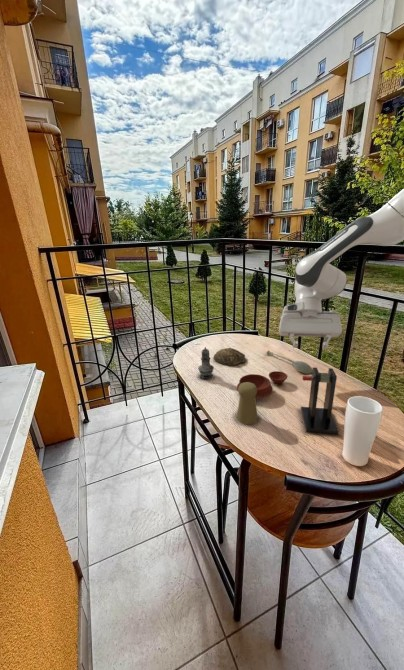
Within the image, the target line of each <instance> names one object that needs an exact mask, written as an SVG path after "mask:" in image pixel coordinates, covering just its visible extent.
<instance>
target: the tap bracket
mask: <svg viewBox="0 0 404 670" xmlns="http://www.w3.org/2000/svg"><path fill="white" fill-rule="evenodd" d="M319 373H320V372H319V370H318V367H312V372H311V375H310V376H311V379H312V381H310V390H309V398H308V399H309V400H308V406H300V412H301V413H300V414H301V417H302V421H303V425H304V430H305V433H311V434H322V435H331V436H332V435H333V436H334V435H335V436H338V435H339V429H338V426H337V424H336V421H335V419H334V416H333V414H332V413H333V407H334V398H335V391H336V384H337V380H338V378H337V375H336V372H335V370H334V368H331V367H329V368H328V371H327V373H329V379H330V382H329V383H326V386H325V393H324V401H323V407H317V404H318V403H317V402H318V396H319V386H320V382H319V380H320V374H319Z"/></svg>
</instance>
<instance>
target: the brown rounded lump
mask: <svg viewBox="0 0 404 670" xmlns="http://www.w3.org/2000/svg"><path fill="white" fill-rule="evenodd" d="M245 357H246V354H245V353H242V352H241V351H239V350H238V349H235V348H232V347H225V348H221V349H219V350H216V352H215V353H214V355H213V361H215V362H217V363H219V364H221V365H227V366H236V365H239V364H240V363H243V364H244V363H246V358H245Z"/></svg>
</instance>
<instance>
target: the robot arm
mask: <svg viewBox="0 0 404 670" xmlns="http://www.w3.org/2000/svg"><path fill="white" fill-rule="evenodd" d="M403 241H404V188H402V190H400V191H399V192H398V193H397V194H395V195H394V196H393V197H392V198H391V199H390V200H389V201H388V202H386V203H385V204H384V205H383V206H381V208H379V209H378V210H375V212H373V213H371V214H369V215H367V216H361V217H359V218H356V219H355V220H354V221H352V222H351V223H349V224H348V225H347V226H345V227H344V228H342V229H341V230H340V231H339V232H338V233H336V234H335V235H333V236H332V237H331V238H330V239H329V240H327V241H326V242H325V243H323V244H322V245H321V246H320V247H318V248H317V249H316V250H314V251H313V252H310V253H309V254H307V255H305V256H303V258H301V259H299V261H298V262H297V264H296V265H295V268H294V278H295V279H294V289H293V290H294V291H293V292H294V297H295V302H294V303H291V304H288V305H285V306H284V307H283V309H282V312H281V316H280V320H279V326H278V335H279V336H280V337H288V339H289V341H290V342H291V343H292V348H294V349H295V348H296V349H297V348H299V341H298V340H296V339H295V337H307V338H324V339H325V340H326V341H323V342H322V343H321V345H322V347H321V348H322V349H324V350H327V349H328V348H329V342H330V340H331V339H332V338H339V337H340V336H341V335H342V333H343V327H342V326H343V325H342V323H341V321H342V317H341V314H340V313H338V312H336V311H333V310H332V311H329V310H328V311H327V310H325V311H324V310H323V307H322V300H327V299H330V298H334V297H337V296H338V295H340V294H342V292H344V290H345V288H346V286H347V282H348V277H347V276H348V275H347V274H346V273H345V272H344V271H343V270H341V269H339V268H338V267H336V266H334V265H332V264H331V263H332V262H333V261H334V260H336V259H337V258H339V257H341V255H343V254H344V253H345V252H346V251H348V250H350V249H351V248H353V247H356V246H359V245H375V246H382V247H388V246H389V247H390V246H393V245H397V244H399V243H401V242H403Z"/></svg>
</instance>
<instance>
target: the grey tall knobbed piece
mask: <svg viewBox="0 0 404 670" xmlns="http://www.w3.org/2000/svg"><path fill="white" fill-rule="evenodd" d="M211 359H212V358H211V357H210V350H209V349H208V348H207V347H204V348H203V349H202V350H201V358H200V360H201V365H198V367H197V370H198V372H199V373H200V374H199V375H198V376H199V379H200V380H204V381H209V380H211V379H213V378H214V374H213V371H214V370H215V368H214V365H212V364H211Z"/></svg>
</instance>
